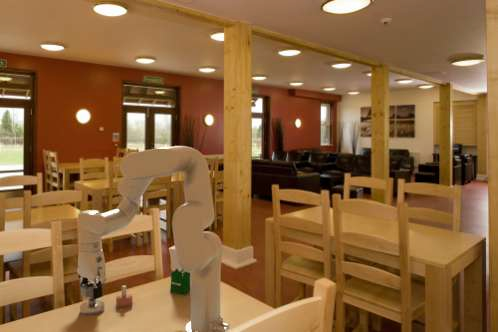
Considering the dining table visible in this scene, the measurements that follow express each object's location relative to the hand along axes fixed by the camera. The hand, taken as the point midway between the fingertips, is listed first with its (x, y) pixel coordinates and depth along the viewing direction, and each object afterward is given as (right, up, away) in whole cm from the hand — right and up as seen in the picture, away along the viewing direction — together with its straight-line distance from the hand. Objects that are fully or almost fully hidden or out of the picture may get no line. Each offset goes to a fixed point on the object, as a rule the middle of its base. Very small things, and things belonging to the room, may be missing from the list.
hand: (91, 294), depth 132 cm
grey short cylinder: (0, +1, 0) cm, 1 cm away
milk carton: (+29, -4, +17) cm, 34 cm away
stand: (+10, -5, +5) cm, 12 cm away
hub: (0, -6, 0) cm, 6 cm away
